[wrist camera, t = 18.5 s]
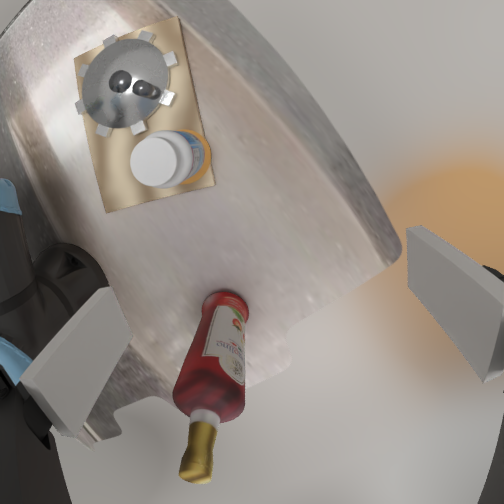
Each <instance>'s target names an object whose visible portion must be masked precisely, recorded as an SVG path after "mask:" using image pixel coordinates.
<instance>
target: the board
mask: <svg viewBox="0 0 504 504" xmlns="http://www.w3.org/2000/svg"><path fill="white" fill-rule="evenodd" d="M142 30H143V31H147V32H151V33H154V34H155V35H156V37H155V39H154V41H153V42H152V44H153V45H154V46H155V47H157V48H158V49H159V50H160V51H161V52H162V53H163V54H164V55H165V54H167V53H169V52H171V51H174V52H175V54H176V56H177V59H178V62H179V65H177V66H175V67H173V68H170V86H169V89H168V91H170V92H173V93H176V94H177V96H176V98H175V100H174V102H173V104H172V107H169V106H167V105H164V104H162V105H161V106H160V107H159V109H158V110H157V111H156V112H155V113H154V114H153V115H152V116H151V117H150V118H148V119H147V120H146V123H147V126H148V129H149V130H147V131H145V132H143V133H141V134H139V135H137V136H133V133H132V130H131V128H130V127H129V128H113V129H112V132H111V135H110V137H104V136H101V135H99V134H96V133H95V132H96V129H97V127H98V123H97V122H96V121H94V120H93V119H92V118H91V117H90V115H89V114H88V113H87V112H86V113H85V114H83V120H84V125H85V130H86V135H87V140H88V145H89V149H90V153H91V158H92V162H93V166H94V170H95V174H96V178H97V182H98V186H99V189H100V193H101V197H102V200H103V204H104V207H105V211H106V213H109V212H113V211H116V210H120V209H123V208H127V207H131V206H134V205H138V204H142V203H145V202H149V201H153V200H157V199H160V198H164V197H168V196H172V195H176V194H180V193H184V192H189V191H193V190H197V189H201V188H206V187H210V186H214V185H216V182H215V178H214V174H213V169H212V165H211V162H210V166H209V168H208V170H207V172H206V173H205V174H204V175H203V176H202V177H201V178H200V179H198V180H197V181H195V182H193V183H190V184H178V185H176V186H174V187H171V188H166V189H161V188H155V187H152V186H147V185H144V184H142V183H141V182H139V181H138V180H137V179H136V178H135V176H134V175H133V173H132V170H131V167H130V158H131V154H132V151H133V149H134V148H135V146H136V145H137V144H138V143H139V142H141V141H142V140H144V139H145V138H146V137H147V136H148V135H150V134H152V133H154V132H157V131H162V130H171V131H177V130H183V129H185V130H192V131H195V132H197V133H199V134H200V135H202V136H203V137H204V138H205V135H204V130H203V126H202V121H201V117H200V112H199V108H198V103H197V99H196V94H195V90H194V85H193V81H192V76H191V71H190V67H189V62H188V57H187V53H186V48H185V43H184V38H183V34H182V29H181V24H180V19H179V18H178V16H176V17H173V18H170V19H167V20H164V21H161V22H158V23H155V24H152V25H149V26H146V27H144V28H141V29H138V30H136V31H133V32H131V33H128V34H126V35H123V36H121V37H118V40H119V41H120V40H124V39H137V38H138V36H139V34H140V32H141V31H142ZM103 49H104V44H102V45H100V46H98V47H96V48H94V49H92V50H90V51H88V52H86V53H84V54H82V55H80V56H78V57H76V58H74V63H75V71H76V78H77V85H78V92H79V98H80V100H81V99H82V84H83V79H84V77H81V76H78V73H79V70H80V68H81V66H82V64H86V65H90V64H91V62H92V61H93V59H94V58H95V57H96V56H97V55H98V54H99V53H100V52H101V51H102V50H103ZM205 140H206V139H205Z"/></svg>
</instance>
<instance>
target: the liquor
mask: <svg viewBox="0 0 504 504" xmlns="http://www.w3.org/2000/svg"><path fill="white" fill-rule="evenodd" d="M248 316H249V310H248V307H247V305H246V303H245V302H244V301H243V300H242V299H241V298H240V297H239V296H237V295H235V294H232V293H228V292H219V293H215V294H212V295H211V296H209V297H208V298H207V299H206V300H205V301H204V303H203V305H202V318H201V321H200V324H199V326H198V329H197V331H196V334H195V337H194V339H193V342H192V344H191V346H190V348H189V351H188V353H187V355H186V358H185V360H184V363H183V366H182V368H181V371H180V374H179V377H178V379H177V382H176V384H175V387H174V390H173V400H174V403H175V404H176V406H177V407H178V408H179V410H180V411H181V412H183V413H184V414H185V415H187V416H188V417H190V425H189V436H188V446H187V449H186V451H185V453H184V455H183V457H182V460H181V465H180V470H179V476H180V477H181V478H182V479H183V480H185V481H188V482H191V483H196V484H206V483H209V482H210V481H211V477H212V469H213V452H212V451H213V447H214V443H215V440H216V436H217V432H218V428H219V424H220V423H224V422H228V421H231V420H233V419H235V418H236V417H238V416H239V415H240V414H241V413H242V412H243V410H244V406H245V352H244V346H245V323H246V322H247V320H248Z"/></svg>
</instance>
